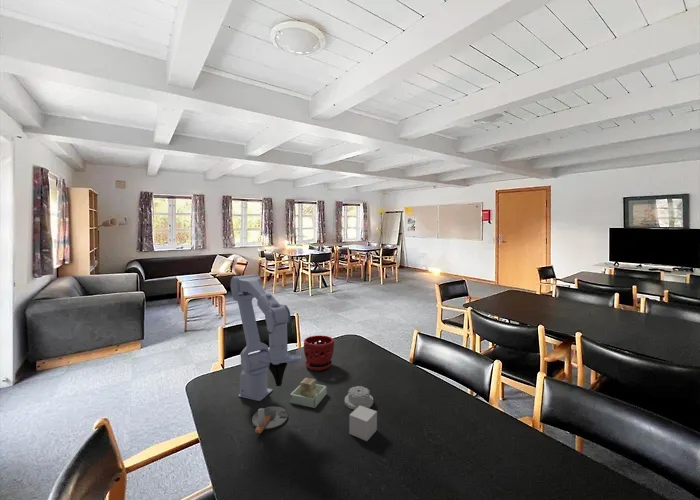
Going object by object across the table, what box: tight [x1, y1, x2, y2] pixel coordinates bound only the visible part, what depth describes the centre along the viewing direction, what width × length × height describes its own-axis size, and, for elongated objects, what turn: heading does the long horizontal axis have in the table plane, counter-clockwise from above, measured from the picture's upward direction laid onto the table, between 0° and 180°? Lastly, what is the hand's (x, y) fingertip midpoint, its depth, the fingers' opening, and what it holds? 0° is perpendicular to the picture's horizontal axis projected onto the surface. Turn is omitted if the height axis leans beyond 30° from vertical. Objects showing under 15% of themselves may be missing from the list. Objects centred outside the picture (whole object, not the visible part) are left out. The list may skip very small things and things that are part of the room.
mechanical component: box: [344, 385, 374, 411], centre depth 111 cm, size 10×4×10 cm
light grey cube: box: [348, 405, 378, 442], centre depth 95 cm, size 6×6×6 cm
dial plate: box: [251, 406, 289, 431], centre depth 102 cm, size 11×11×1 cm
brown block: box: [299, 377, 317, 398], centre depth 113 cm, size 4×4×6 cm
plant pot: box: [303, 335, 335, 371], centre depth 140 cm, size 13×13×12 cm
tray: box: [289, 383, 328, 409], centre depth 114 cm, size 10×10×3 cm
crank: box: [254, 406, 276, 434], centre depth 98 cm, size 11×4×6 cm, turn 172°
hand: (279, 384), depth 103 cm, fingers closed
